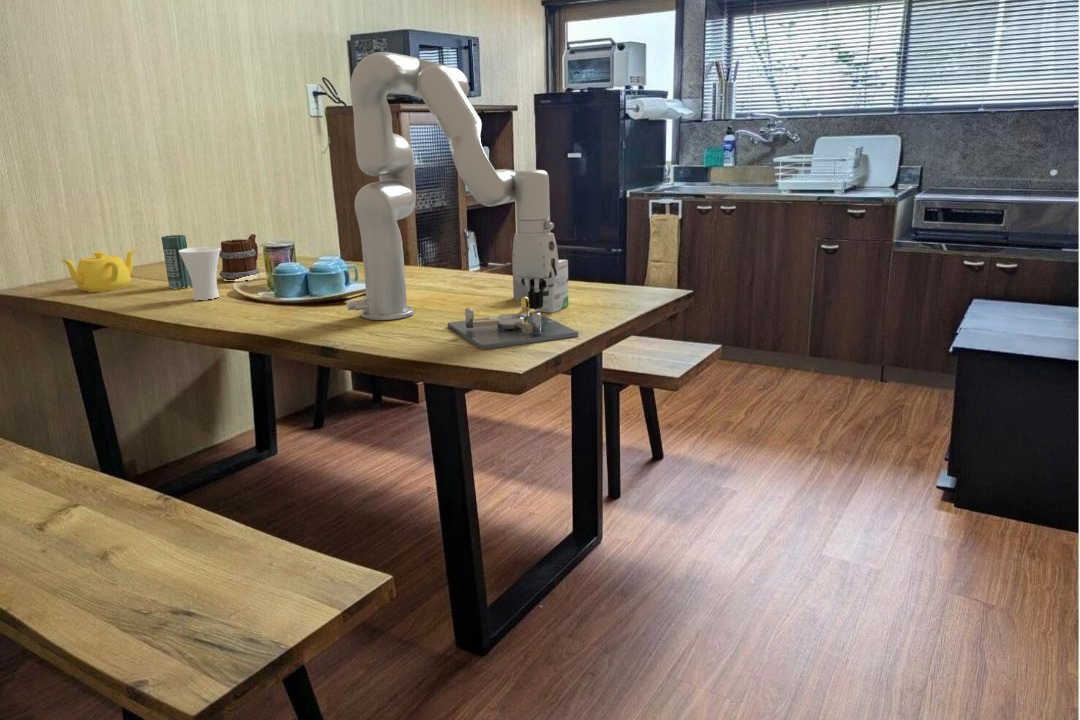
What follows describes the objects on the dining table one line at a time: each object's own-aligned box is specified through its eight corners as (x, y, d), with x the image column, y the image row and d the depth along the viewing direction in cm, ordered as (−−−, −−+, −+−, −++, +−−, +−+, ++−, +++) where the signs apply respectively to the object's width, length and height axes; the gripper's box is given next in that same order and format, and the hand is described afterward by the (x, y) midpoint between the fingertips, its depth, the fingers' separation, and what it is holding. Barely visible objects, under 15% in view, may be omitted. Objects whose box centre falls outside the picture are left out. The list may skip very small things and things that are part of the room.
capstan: (539, 334, 165) (538, 312, 163) (464, 329, 171) (463, 308, 169) (562, 318, 179) (562, 297, 177) (492, 313, 184) (491, 294, 183)
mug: (209, 281, 238) (208, 231, 236) (240, 281, 252) (240, 233, 250) (241, 283, 235) (241, 232, 233) (271, 282, 248) (271, 234, 246)
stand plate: (482, 349, 159) (482, 344, 159) (447, 326, 178) (447, 321, 178) (578, 336, 168) (578, 330, 167) (535, 315, 187) (535, 310, 187)
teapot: (82, 298, 219) (74, 259, 216) (56, 292, 228) (48, 255, 225) (157, 285, 236) (151, 249, 233) (130, 280, 245) (125, 245, 242)
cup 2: (541, 302, 202) (541, 263, 199) (510, 301, 203) (509, 263, 200) (547, 295, 209) (547, 258, 207) (518, 295, 211) (517, 258, 208)
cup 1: (221, 293, 222) (215, 245, 218) (231, 298, 213) (224, 249, 210) (182, 298, 216) (174, 249, 212) (190, 304, 208) (182, 253, 204)
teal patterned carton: (196, 285, 234) (189, 235, 229) (183, 289, 228) (175, 237, 224) (179, 285, 235) (171, 234, 231) (165, 288, 229) (157, 237, 225)
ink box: (552, 304, 199) (551, 258, 196) (569, 306, 196) (569, 259, 193) (535, 311, 192) (534, 263, 188) (553, 313, 189) (552, 264, 186)
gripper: (570, 226, 172) (572, 308, 177) (516, 224, 181) (519, 301, 186) (551, 230, 166) (553, 314, 172) (496, 227, 175) (500, 308, 180)
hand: (536, 307), depth 179 cm, fingers closed
